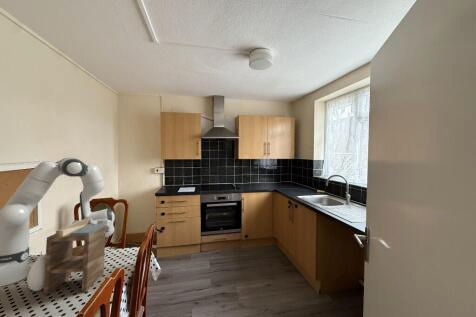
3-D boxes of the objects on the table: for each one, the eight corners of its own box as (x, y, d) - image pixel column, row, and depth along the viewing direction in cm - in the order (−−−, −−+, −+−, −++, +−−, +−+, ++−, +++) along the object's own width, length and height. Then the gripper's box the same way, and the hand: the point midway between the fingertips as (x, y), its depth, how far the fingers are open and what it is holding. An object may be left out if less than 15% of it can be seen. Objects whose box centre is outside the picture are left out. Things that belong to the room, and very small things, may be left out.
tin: (60, 266, 109) (61, 251, 110) (59, 264, 111) (60, 249, 112) (92, 256, 121) (92, 243, 121) (91, 255, 123) (91, 242, 123)
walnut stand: (43, 294, 85) (46, 237, 86) (66, 276, 99) (69, 227, 100) (86, 291, 88) (89, 236, 89) (103, 274, 102) (105, 226, 103)
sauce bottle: (21, 296, 84) (24, 256, 85) (35, 285, 91) (37, 248, 92) (42, 294, 86) (45, 254, 86) (54, 283, 93) (56, 247, 94)
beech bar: (55, 236, 88) (56, 231, 88) (86, 222, 109) (87, 217, 110) (62, 236, 88) (63, 230, 88) (92, 222, 110) (92, 217, 110)
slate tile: (70, 236, 88) (70, 233, 88) (88, 227, 101) (88, 224, 101) (88, 235, 89) (88, 232, 89) (104, 226, 102) (104, 224, 102)
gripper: (81, 221, 118) (67, 215, 106) (116, 221, 121) (106, 215, 109) (77, 232, 115) (62, 227, 103) (113, 231, 117) (102, 226, 106)
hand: (85, 221), depth 106 cm, fingers closed on beech bar, 3 cm apart
